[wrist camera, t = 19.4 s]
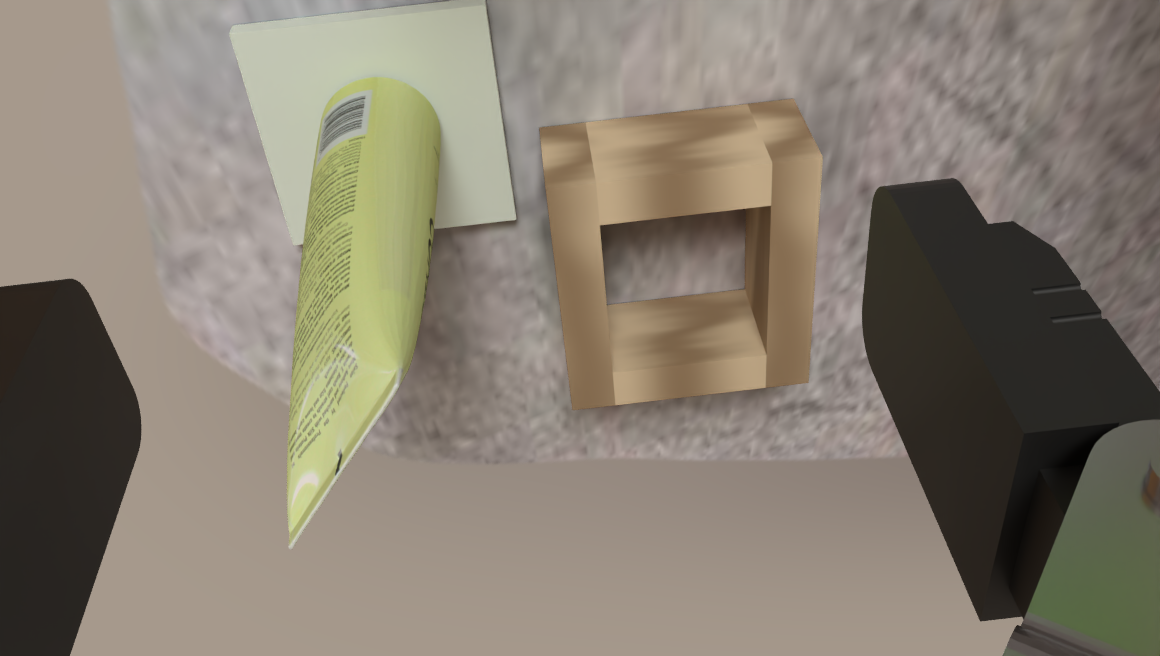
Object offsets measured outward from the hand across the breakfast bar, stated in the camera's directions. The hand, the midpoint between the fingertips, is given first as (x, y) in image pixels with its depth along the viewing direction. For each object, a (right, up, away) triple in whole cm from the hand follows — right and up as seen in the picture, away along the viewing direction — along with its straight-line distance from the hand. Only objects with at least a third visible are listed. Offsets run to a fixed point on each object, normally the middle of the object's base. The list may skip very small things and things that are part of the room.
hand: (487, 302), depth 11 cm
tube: (-7, +8, +34) cm, 36 cm away
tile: (-7, +8, +35) cm, 37 cm away
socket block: (+5, +4, +39) cm, 40 cm away
